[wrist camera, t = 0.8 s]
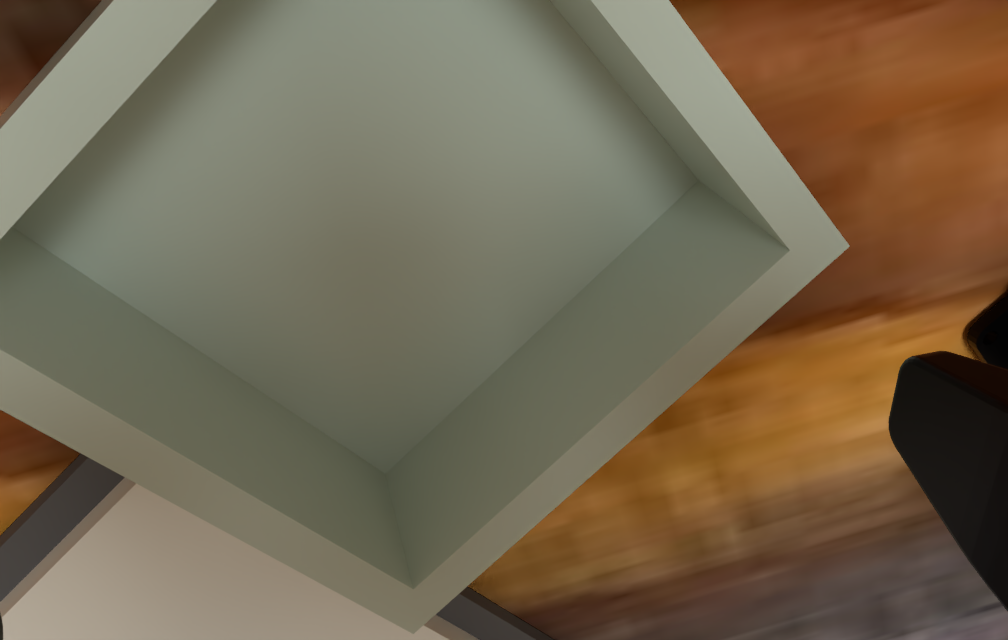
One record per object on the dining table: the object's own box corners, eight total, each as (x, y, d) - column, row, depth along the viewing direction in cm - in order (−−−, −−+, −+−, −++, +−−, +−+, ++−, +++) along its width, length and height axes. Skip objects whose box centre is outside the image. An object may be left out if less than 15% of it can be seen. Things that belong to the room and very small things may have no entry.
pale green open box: (734, 167, 23) (849, 246, 19) (381, 496, 25) (413, 634, 21) (366, -301, 16) (416, -343, 12) (-77, 203, 18) (-168, 318, 14)
